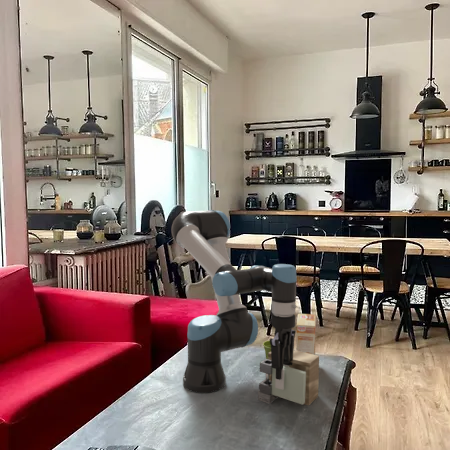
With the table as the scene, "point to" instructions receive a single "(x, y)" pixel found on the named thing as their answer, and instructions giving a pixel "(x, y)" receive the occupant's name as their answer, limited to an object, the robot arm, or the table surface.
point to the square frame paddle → (292, 383)
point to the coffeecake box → (306, 333)
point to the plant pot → (267, 347)
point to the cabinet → (303, 363)
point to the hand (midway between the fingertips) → (282, 386)
